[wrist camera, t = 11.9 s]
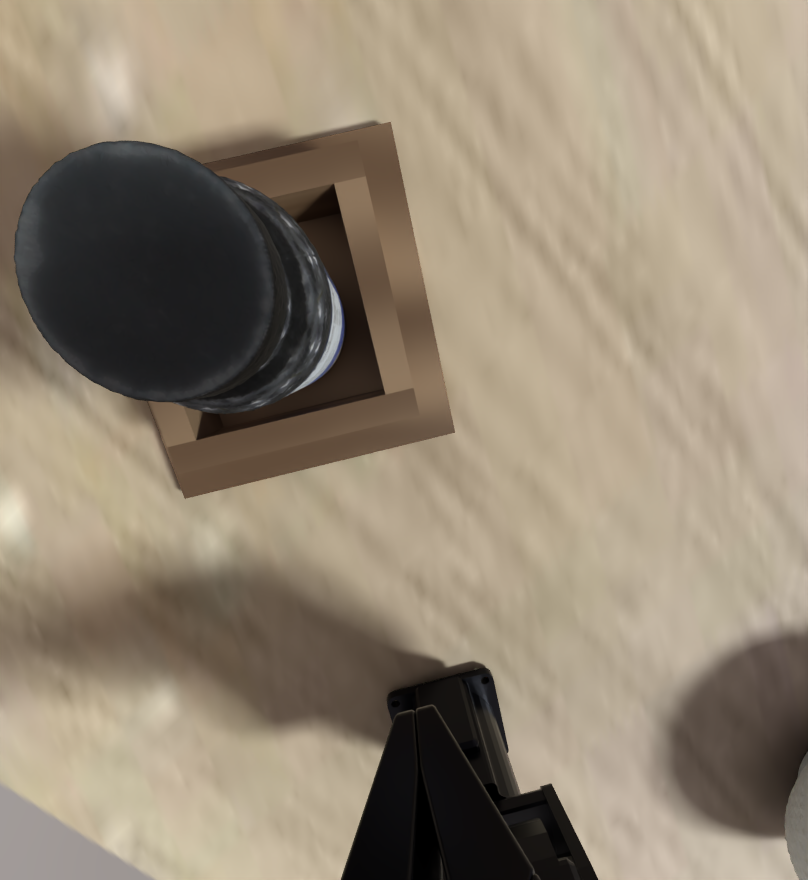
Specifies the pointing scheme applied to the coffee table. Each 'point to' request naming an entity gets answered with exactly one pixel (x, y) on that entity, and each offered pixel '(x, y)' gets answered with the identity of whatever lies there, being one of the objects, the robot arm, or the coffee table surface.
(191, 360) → the pill bottle
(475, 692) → the robot arm
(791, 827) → the cereal bowl
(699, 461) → the coffee table surface
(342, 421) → the walnut holder
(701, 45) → the coffee table surface
